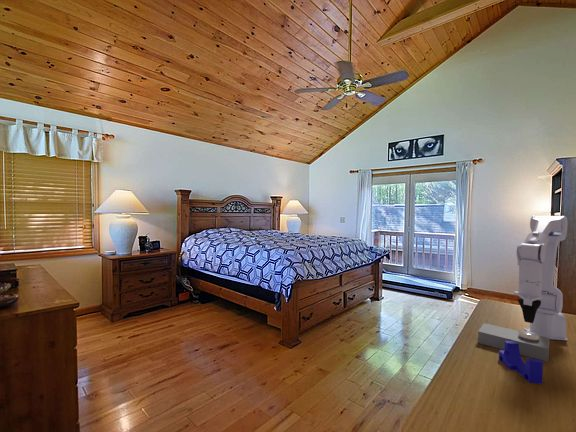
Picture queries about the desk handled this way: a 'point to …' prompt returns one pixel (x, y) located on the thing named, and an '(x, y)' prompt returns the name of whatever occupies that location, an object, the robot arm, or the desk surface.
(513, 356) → the cable clip
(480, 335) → the grey flat block
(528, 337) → the headed pin
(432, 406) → the desk surface
